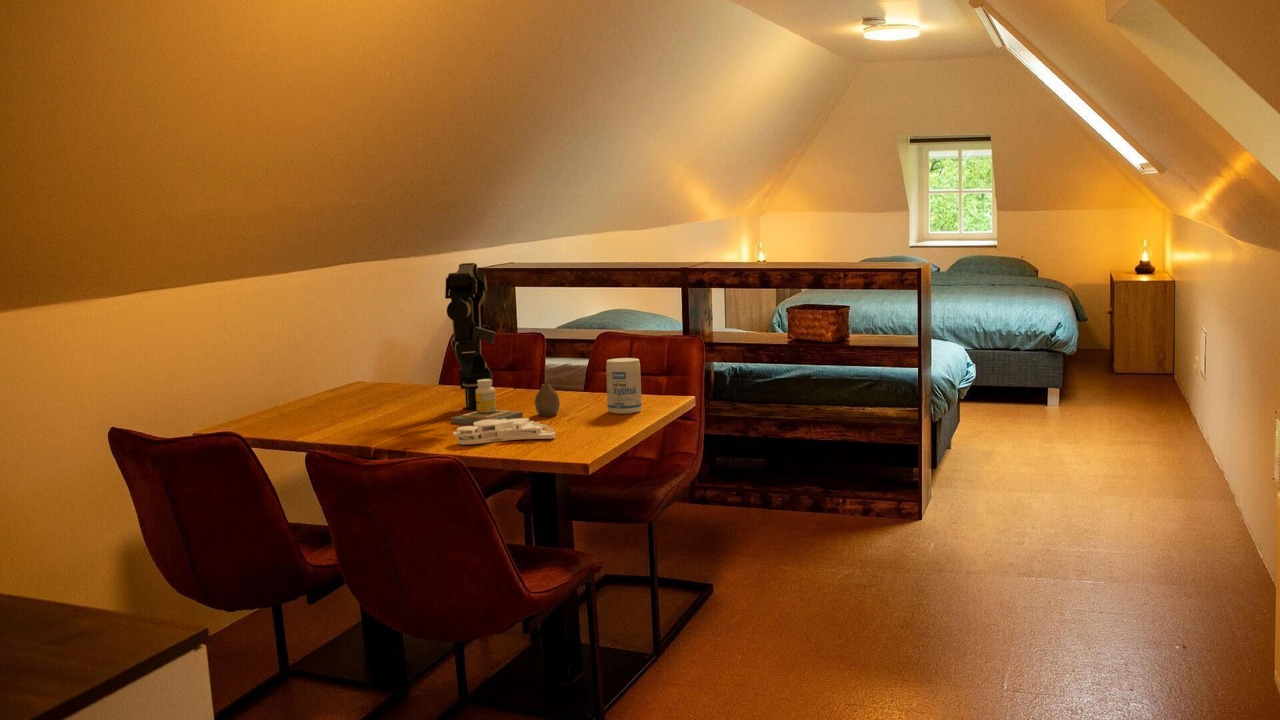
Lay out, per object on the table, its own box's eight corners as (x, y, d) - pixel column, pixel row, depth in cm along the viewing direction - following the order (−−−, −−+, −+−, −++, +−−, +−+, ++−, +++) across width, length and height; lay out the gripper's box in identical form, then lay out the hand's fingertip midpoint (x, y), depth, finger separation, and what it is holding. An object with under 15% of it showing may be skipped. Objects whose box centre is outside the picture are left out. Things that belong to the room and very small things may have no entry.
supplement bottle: (477, 413, 310) (475, 379, 309) (497, 412, 310) (494, 378, 309) (476, 417, 305) (474, 381, 303) (496, 416, 305) (494, 380, 304)
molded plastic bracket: (547, 443, 273) (546, 425, 273) (449, 445, 277) (448, 427, 277) (566, 426, 296) (565, 409, 295) (475, 428, 299) (474, 412, 299)
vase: (556, 417, 307) (554, 386, 306) (532, 417, 308) (530, 386, 307) (563, 413, 314) (561, 382, 313) (539, 413, 315) (537, 383, 314)
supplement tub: (614, 415, 305) (611, 362, 303) (603, 411, 314) (600, 359, 312) (647, 412, 308) (644, 359, 307) (635, 407, 317) (633, 356, 315)
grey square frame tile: (451, 423, 306) (450, 415, 305) (484, 414, 317) (484, 407, 317) (489, 426, 298) (489, 418, 298) (522, 417, 310) (522, 410, 309)
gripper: (496, 318, 296) (499, 376, 298) (489, 314, 314) (492, 369, 316) (454, 321, 294) (458, 380, 295) (449, 317, 312) (453, 372, 313)
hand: (466, 375), depth 305 cm, fingers open, 9 cm apart
